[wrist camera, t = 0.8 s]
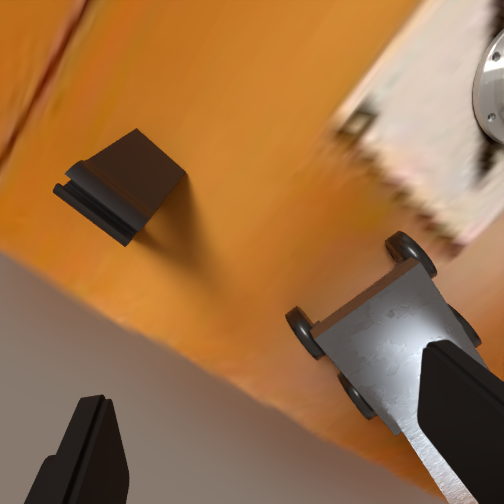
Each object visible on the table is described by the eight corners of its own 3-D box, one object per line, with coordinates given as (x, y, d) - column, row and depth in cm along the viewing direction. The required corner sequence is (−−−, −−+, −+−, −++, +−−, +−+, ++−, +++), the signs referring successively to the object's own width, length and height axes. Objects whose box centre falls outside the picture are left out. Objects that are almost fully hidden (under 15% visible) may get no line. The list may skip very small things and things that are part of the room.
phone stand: (129, 236, 38) (95, 281, 26) (79, 197, 36) (19, 228, 24) (186, 171, 36) (176, 189, 25) (137, 128, 34) (102, 125, 23)
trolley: (389, 225, 40) (552, 309, 21) (454, 326, 46) (632, 466, 27) (280, 305, 42) (341, 451, 23) (356, 394, 47) (457, 573, 28)
